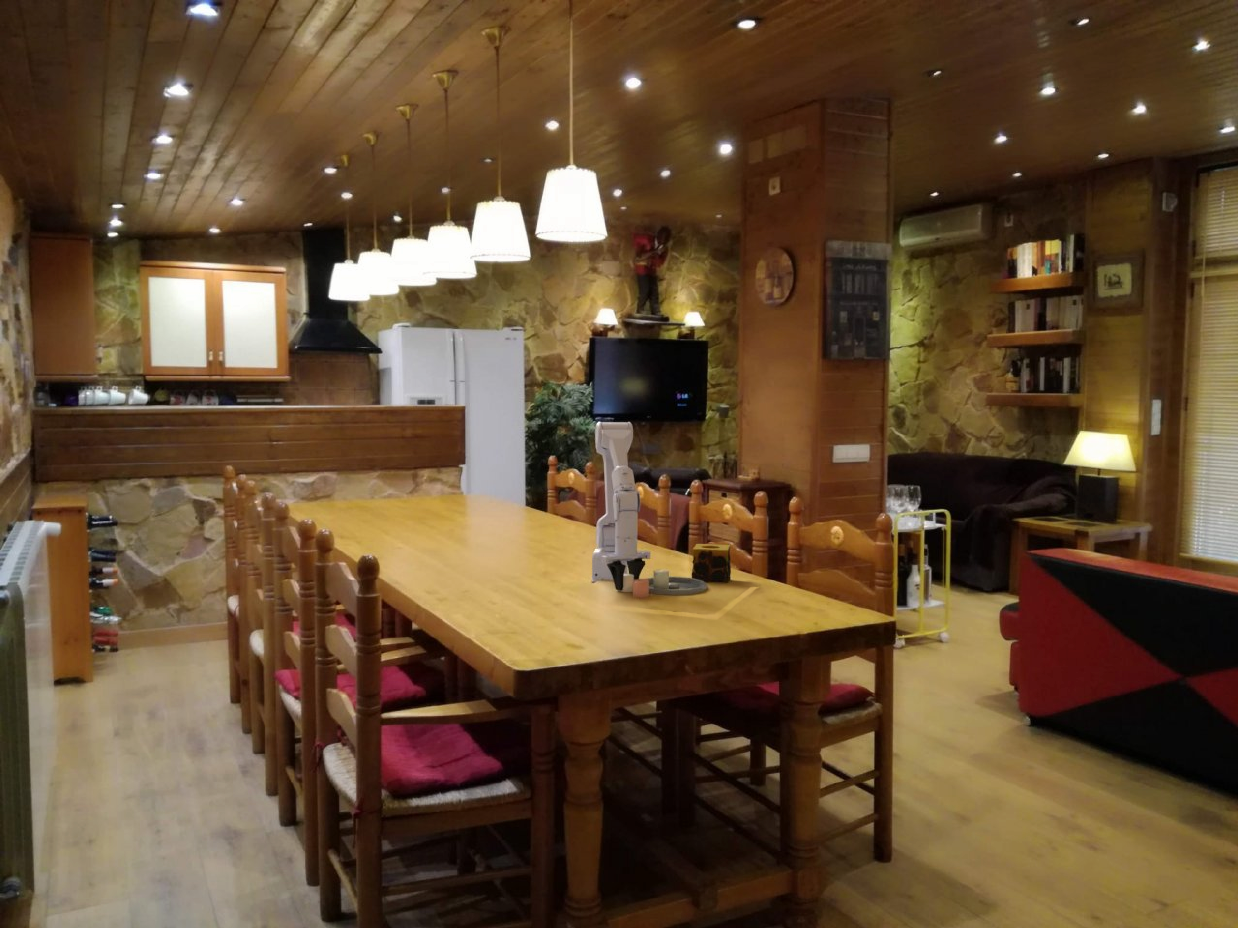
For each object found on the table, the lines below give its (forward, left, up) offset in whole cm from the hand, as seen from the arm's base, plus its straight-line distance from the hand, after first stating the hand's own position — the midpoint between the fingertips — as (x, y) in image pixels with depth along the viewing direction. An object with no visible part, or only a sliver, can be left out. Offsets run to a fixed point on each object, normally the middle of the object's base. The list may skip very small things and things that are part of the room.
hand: (626, 588), depth 246 cm
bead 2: (+6, -5, -2) cm, 8 cm away
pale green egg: (+8, +4, 0) cm, 9 cm away
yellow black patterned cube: (+16, +24, -2) cm, 29 cm away
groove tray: (+10, +8, -1) cm, 13 cm away
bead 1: (0, 0, -1) cm, 1 cm away
